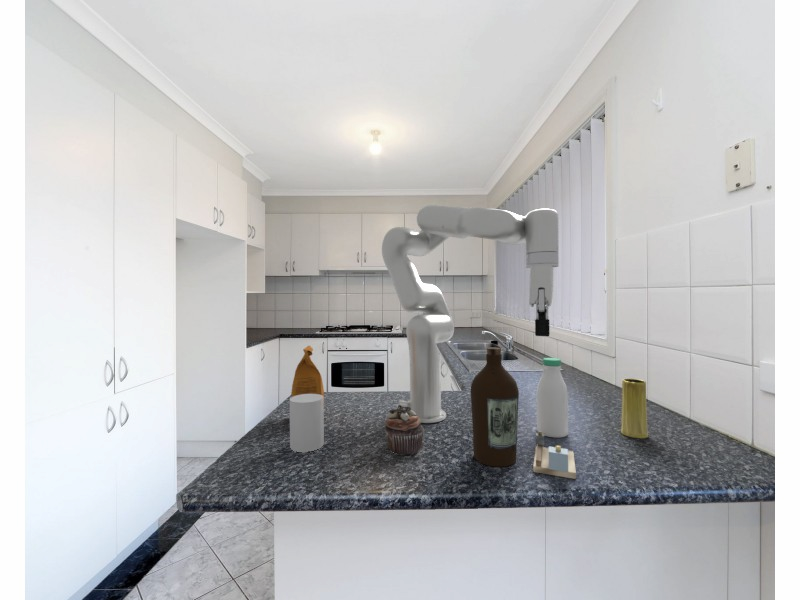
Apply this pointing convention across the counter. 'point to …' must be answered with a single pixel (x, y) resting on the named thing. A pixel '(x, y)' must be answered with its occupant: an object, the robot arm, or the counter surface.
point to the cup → (306, 422)
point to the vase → (634, 408)
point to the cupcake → (404, 431)
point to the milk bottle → (552, 401)
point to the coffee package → (307, 377)
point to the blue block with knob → (558, 458)
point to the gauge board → (543, 460)
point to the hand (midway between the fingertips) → (542, 335)
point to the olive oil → (494, 413)
